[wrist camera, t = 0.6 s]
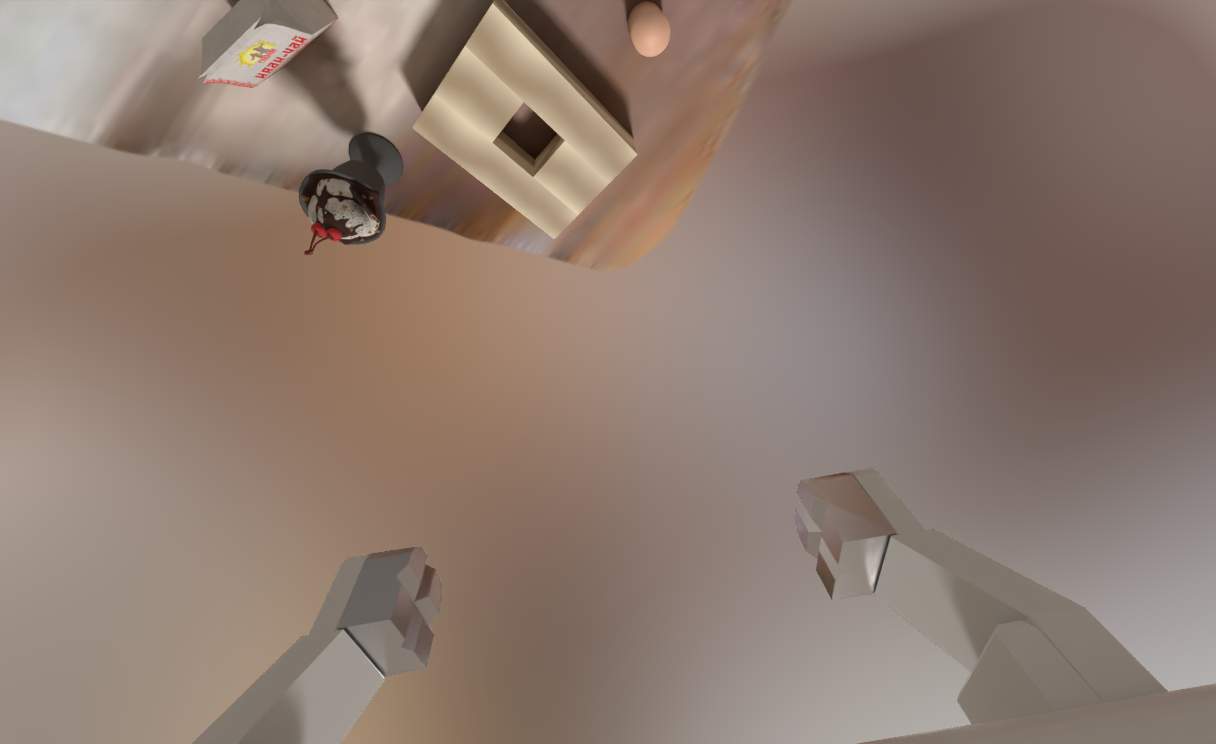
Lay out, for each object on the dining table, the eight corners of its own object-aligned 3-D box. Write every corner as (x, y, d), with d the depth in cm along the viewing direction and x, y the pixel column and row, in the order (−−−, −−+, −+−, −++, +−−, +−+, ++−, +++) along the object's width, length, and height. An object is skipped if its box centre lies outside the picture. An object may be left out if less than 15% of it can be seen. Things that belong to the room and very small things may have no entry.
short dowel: (646, -9, 38) (653, 0, 35) (670, 22, 40) (678, 33, 37) (620, 23, 39) (624, 34, 37) (644, 53, 41) (649, 65, 38)
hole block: (497, -7, 37) (492, 3, 35) (633, 137, 46) (637, 154, 43) (421, 112, 43) (412, 128, 40) (554, 220, 52) (554, 239, 49)
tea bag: (241, 20, 38) (169, 52, 31) (296, -35, 35) (232, -13, 29) (284, 66, 40) (226, 105, 33) (338, 18, 38) (288, 49, 31)
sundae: (338, 178, 47) (276, 263, 37) (340, 112, 43) (270, 186, 33) (407, 201, 49) (366, 287, 39) (416, 140, 45) (372, 219, 35)
